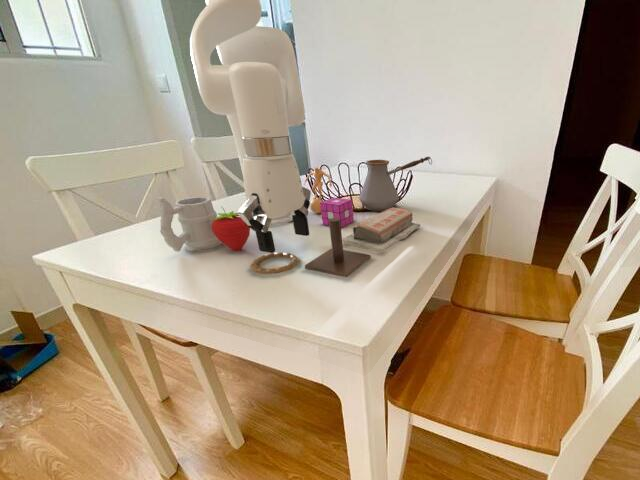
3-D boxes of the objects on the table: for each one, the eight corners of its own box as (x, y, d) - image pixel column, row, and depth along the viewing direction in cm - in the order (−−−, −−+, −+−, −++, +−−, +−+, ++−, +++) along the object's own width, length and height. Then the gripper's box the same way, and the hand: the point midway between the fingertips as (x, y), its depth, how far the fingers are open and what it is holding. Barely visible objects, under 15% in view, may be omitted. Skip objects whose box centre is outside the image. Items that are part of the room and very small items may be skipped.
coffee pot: (352, 210, 97) (348, 155, 90) (370, 200, 107) (368, 149, 100) (423, 219, 91) (424, 160, 83) (436, 207, 100) (438, 153, 93)
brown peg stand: (305, 271, 64) (297, 223, 59) (332, 253, 71) (328, 209, 67) (346, 280, 61) (341, 230, 56) (371, 260, 68) (368, 215, 63)
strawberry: (244, 259, 68) (232, 210, 63) (211, 256, 69) (197, 208, 65) (261, 248, 73) (251, 202, 68) (230, 245, 74) (218, 200, 70)
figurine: (301, 214, 94) (294, 169, 89) (312, 208, 99) (306, 165, 94) (328, 216, 92) (323, 170, 87) (338, 210, 97) (334, 166, 92)
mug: (234, 241, 76) (219, 187, 70) (185, 263, 67) (164, 202, 61) (208, 237, 79) (193, 184, 73) (158, 256, 69) (136, 197, 63)
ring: (242, 271, 63) (240, 265, 63) (274, 254, 70) (273, 249, 70) (277, 279, 61) (276, 273, 60) (307, 261, 67) (306, 255, 67)
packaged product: (385, 203, 86) (420, 209, 82) (385, 222, 88) (420, 228, 84) (340, 224, 72) (380, 232, 68) (342, 245, 74) (381, 254, 70)
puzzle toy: (336, 218, 91) (333, 197, 88) (354, 221, 89) (352, 199, 86) (322, 224, 86) (319, 202, 84) (341, 228, 84) (339, 205, 82)
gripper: (286, 143, 67) (299, 227, 74) (208, 153, 52) (235, 256, 60) (317, 144, 64) (328, 231, 72) (245, 155, 50) (268, 262, 58)
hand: (286, 242), depth 66 cm, fingers open, 9 cm apart
